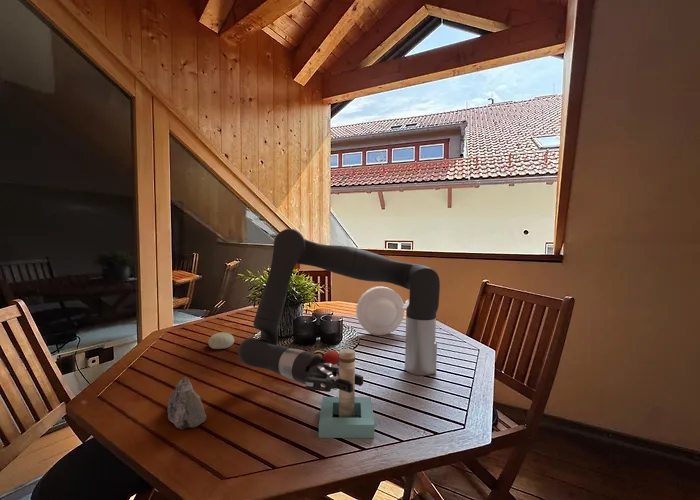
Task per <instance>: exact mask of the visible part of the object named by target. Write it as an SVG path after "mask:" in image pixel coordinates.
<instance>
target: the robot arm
mask: <svg viewBox="0 0 700 500" xmlns="http://www.w3.org/2000/svg"><path fill="white" fill-rule="evenodd" d="M297 265H303V266H311V267H316V268H320V269H322V270H325V271H327V272H331V273H333V274H337V275H340V276H344V277H346V278H351V279H356V280H359V281H364V282H365V281H366V282H374V283H375V282H377V283H378V282H379V283H380V282H381V283H387V284H388V283H389V284H392V285H396V286H399V287H402V288H405V289H407V290H409V305H408V307H407V309H406V310H405V311H406V312H405V315H406V316H405V348H404V349H405V350H404V352H405V353H404V354H405V355H404V369H405V371H406V372H407V373H409V374H412V375H416V376H430V375H433V374H437V361H438V360H437V359H438V358H437V357H438V356H437V355H438V343H437V342H436V331H437V325H436V323H437V312H438V311H439V310H438V309H439V305H440V291H441V281H440V276H439V274H438V273H437V271H436V270H434V269H433V268H431V267H429V266H426V265H423V264H417V263H411V262H410V263H409V262H403V261H397V260H393V259H390V258H387V257H385V256H384V255H381V254H377V253H374V252H372V251H368V250H366V249H360V248H357V247H353V246H348V245H347V246H346V245H336V244H335V245H331V244H330V245H329V244H323V243H322V244H321V243H318V242H314V241H311V240H309V239H306V238H304V236H303V234H302V233H301V232H299V231H298V229H294V228H286V229H283V230H281V231H280V232H278V233H277V234H276V236H275V238H274V240H273V251H272V258H271V265H270V267H269V269H270V270H269V273H268V276H267V280H266V282H265V286H264V288H263V292H262V295H261V297H260V300H259V303H258V306H257V310H256V313H255V317H254V319H253V323H252V325H253V327H254V328H255V329H257V330H258V331H260V338H254V337H250V338H246V339H245V340H243V341H242V342H241V343H240V344H239V346H238V349H237V353H238V358H239V359H240V361H241V362H242V363H243V364H245V365H247V366H250V367H255V368H258V369H265V370H268V371H270V372H273V373H276V374H278V375H281V376H283V377H285V378H287V379H290V380H292V381H295V382H297V383H300V384H303V385H305V387H304V388H305V390H310V391H318V392H325V393H329V392H331V391H332V390H335V391H337V390H339V389H340V390H343V391H346V392H349V393H351V392H352V391H353V383H352V382H350V381H346V380H343V379H340V378H339V360H338V361H337V364H335V365H333V364H331V363H325V362H324V361H323V359H322V358H321V356H319V355H316V354H313V353H314V352H313V353H312V352H309V351H305V350H302V349H298V348H292V347H288V346H284V345H282V344H281V345H279V344H278V341H279V340H278V337H279V336H278V335H279V334H278V333H279V325H280V323H281V318H282V315H283V311H284V308H285V303H286V300H287V294H288V290H289V287H290V281H291V279H292V275H293V272H294V269H295V268H296V266H297ZM355 385H356V386H359V387H361V386H363V385H364V376H363V375H361V374H357V373H355Z"/></svg>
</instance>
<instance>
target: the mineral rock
mask: <svg viewBox="0 0 700 500" xmlns="http://www.w3.org/2000/svg"><path fill="white" fill-rule="evenodd" d="M167 414H168V415H167V419H168V421H170V422H171V423H173V424H174V426H175V427H176V428H177V429H180V430H186V429H188V428H196V427H198V426H200V425H201V424H203V423H205V421H206V420H207V414H206V411H205V408H204V404H203V402H202V399H201V396H200V395H199V394H198V393H197V392H196V391H195V390H194V387H193V384H192V383H191V380H190V379H189V378H188V377H187V376H185V377H183V378H181V379H180V380H179V382H178V383H177V384H176V386H175V388H174V390H173V392H172V393H171V394H170V395H169V397H168V400H167Z"/></svg>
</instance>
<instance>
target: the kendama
mask: <svg viewBox="0 0 700 500" xmlns="http://www.w3.org/2000/svg"><path fill="white" fill-rule="evenodd" d="M313 354H316V355H319V356H321V358H322V359H323V361H324V362H325V363H331V364H333V365H335V364H337V361H338V360H339V353H338V352H337V351H336V350H329V351H327V352H324V351H322V350H315V351H313Z"/></svg>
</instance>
